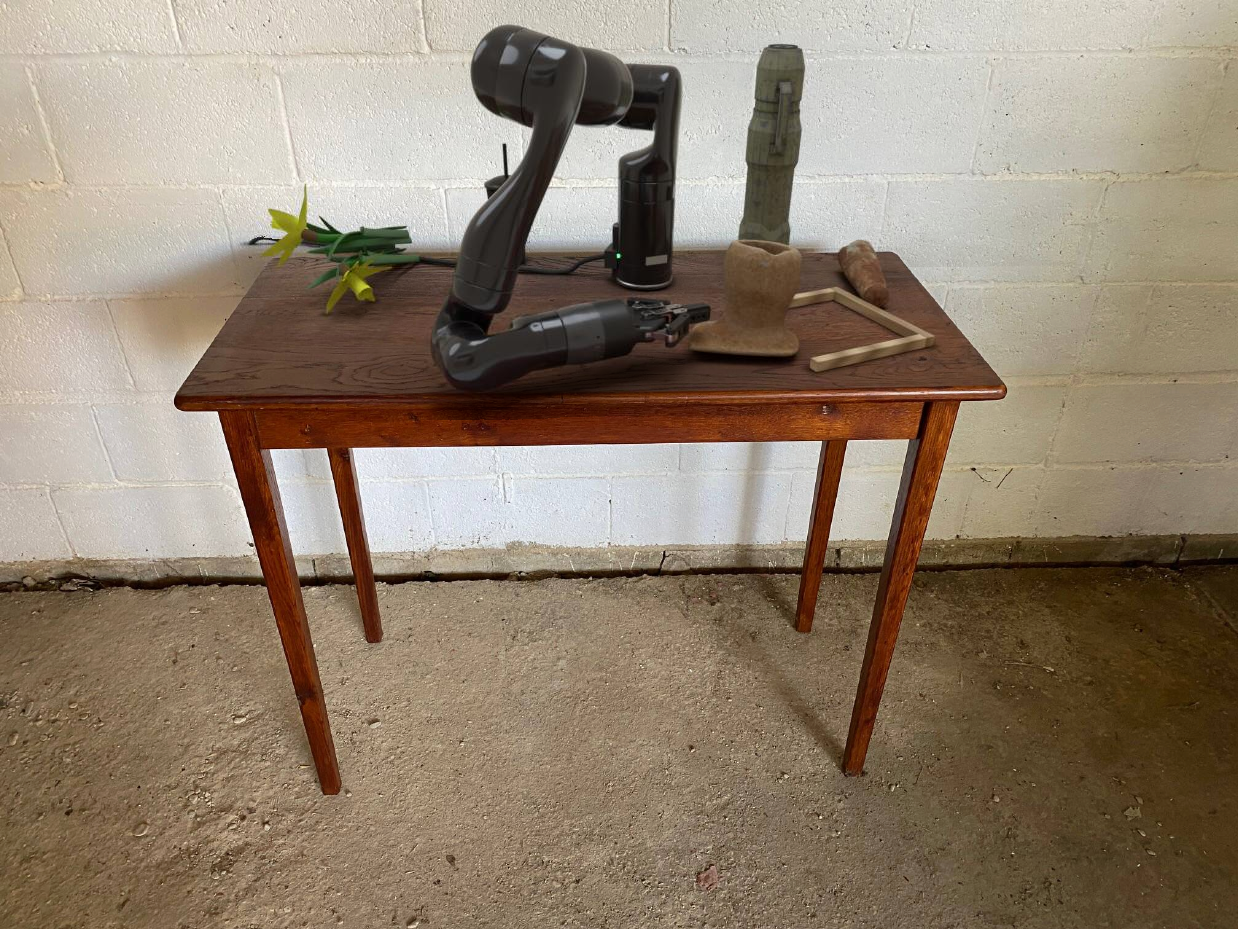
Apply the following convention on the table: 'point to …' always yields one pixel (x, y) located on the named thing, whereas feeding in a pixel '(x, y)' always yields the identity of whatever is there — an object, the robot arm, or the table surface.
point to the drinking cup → (500, 183)
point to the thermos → (773, 144)
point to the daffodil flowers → (342, 250)
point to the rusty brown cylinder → (864, 272)
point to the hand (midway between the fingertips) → (707, 310)
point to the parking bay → (911, 333)
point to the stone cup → (753, 302)
